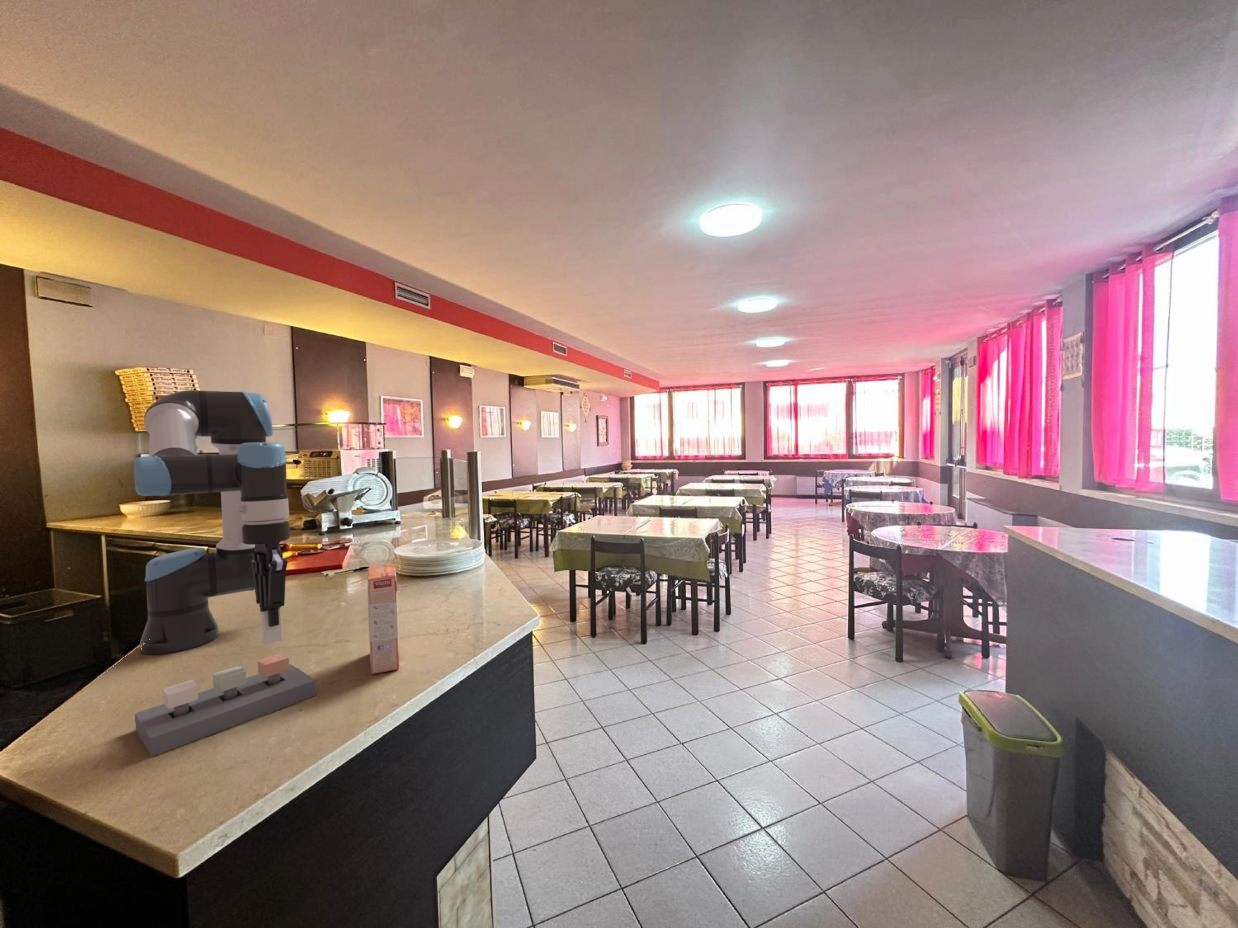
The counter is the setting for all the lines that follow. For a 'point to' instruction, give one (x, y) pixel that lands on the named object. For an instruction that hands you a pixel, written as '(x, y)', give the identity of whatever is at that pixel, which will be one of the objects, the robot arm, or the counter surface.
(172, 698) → the key ivory
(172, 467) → the robot arm
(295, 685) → the console
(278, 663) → the key terracotta
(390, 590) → the cracker box
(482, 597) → the counter surface
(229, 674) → the key sage
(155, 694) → the counter surface
